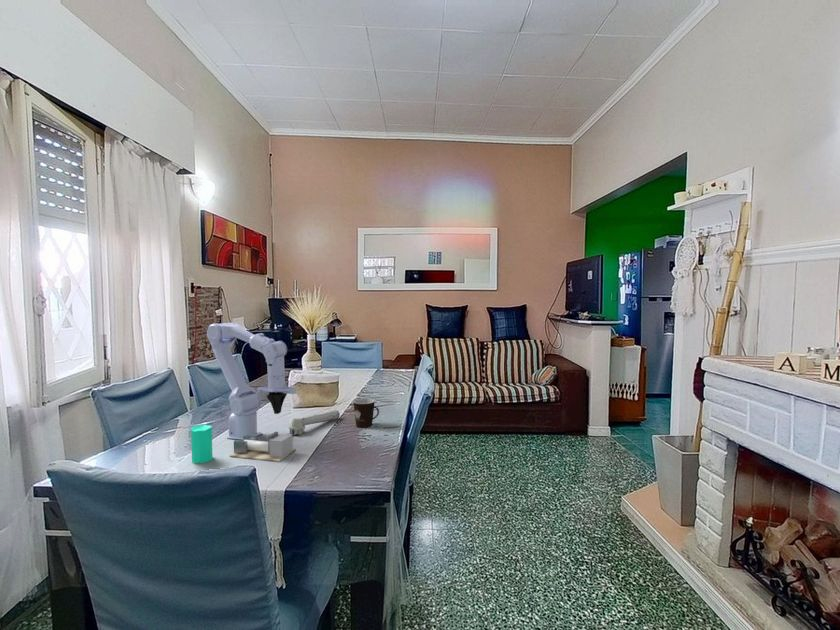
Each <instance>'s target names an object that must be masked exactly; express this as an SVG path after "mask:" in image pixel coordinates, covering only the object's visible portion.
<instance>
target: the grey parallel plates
mask: <svg viewBox="0 0 840 630" xmlns="http://www.w3.org/2000/svg"><path fill="white" fill-rule="evenodd" d="M257 438H258V436H247V435H245V436H243V440H239V439H234V440H233V453H240V454H247V453H248V443H247V441H244V440H255V441H258V439H257Z"/></svg>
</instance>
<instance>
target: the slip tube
mask: <svg viewBox="0 0 840 630" xmlns="http://www.w3.org/2000/svg"><path fill="white" fill-rule="evenodd" d="M278 435H279V431H273V432H272V433H270V434H268V436H267V441H266V440H265V441H264V440H257V441H255V440H244V441H247V443H248V450H253V451H263V452H268V454H270V443H269V440H271V439H272V438H274V437H276V436H278Z"/></svg>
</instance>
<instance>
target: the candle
mask: <svg viewBox="0 0 840 630" xmlns="http://www.w3.org/2000/svg"><path fill="white" fill-rule="evenodd" d="M212 427H213V426H212V425H208V424H202V422H200V424H198V425H195V426H193V427H191V428H190V436H191V438H190V439H191V444H190V445H191V463H192V464H203V463H207V462H210V461H212V460H213V457H214V456H213V428H212Z"/></svg>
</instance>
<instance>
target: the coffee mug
mask: <svg viewBox="0 0 840 630" xmlns="http://www.w3.org/2000/svg"><path fill="white" fill-rule="evenodd" d="M352 403H353V411H354V418H355V420H354V421H355V426H356V428H359V429H368V428H371V427H373V422H374V419H376V418H377V417H378V416H379V414H380V410H379V408H378V406H375V403H376V402H375V399H373V398H366V397H365V398H357V399H355V400H353V401H352ZM375 410H376V411H377V414H376V415H375V416H374V411H375Z"/></svg>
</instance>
